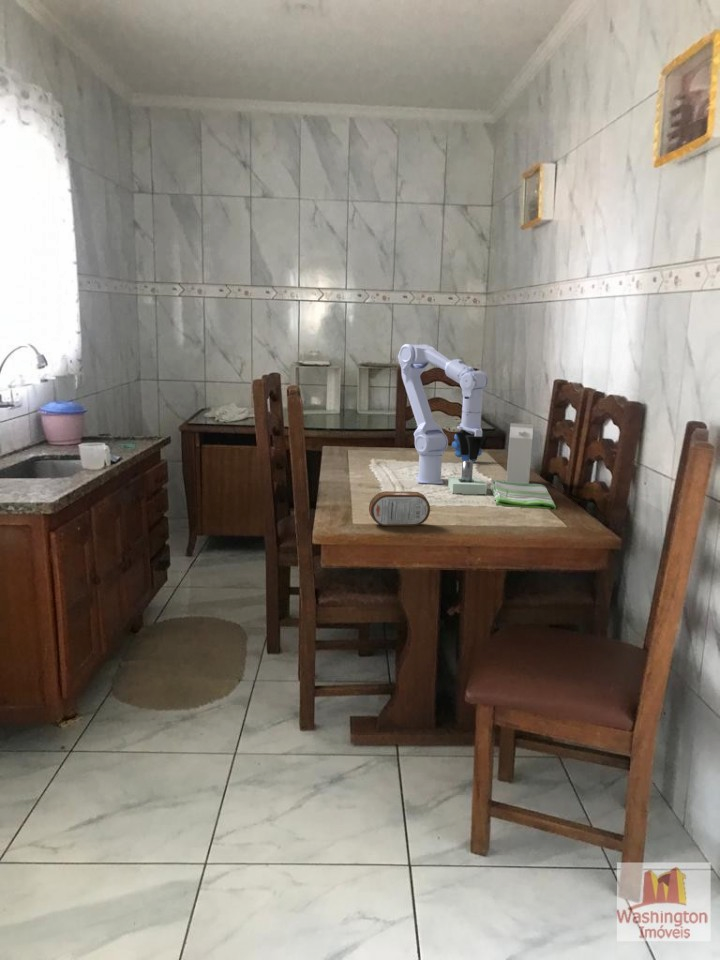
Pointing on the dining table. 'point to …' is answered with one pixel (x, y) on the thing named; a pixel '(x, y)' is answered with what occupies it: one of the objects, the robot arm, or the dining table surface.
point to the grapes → (458, 452)
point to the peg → (467, 471)
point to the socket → (467, 486)
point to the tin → (399, 508)
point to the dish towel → (521, 495)
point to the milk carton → (519, 453)
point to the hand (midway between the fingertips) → (468, 457)
